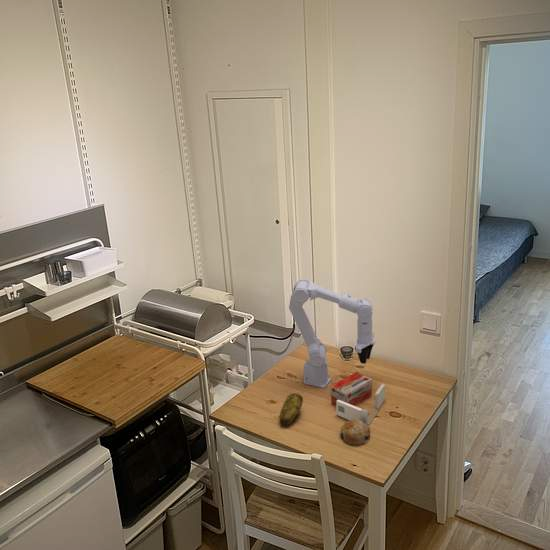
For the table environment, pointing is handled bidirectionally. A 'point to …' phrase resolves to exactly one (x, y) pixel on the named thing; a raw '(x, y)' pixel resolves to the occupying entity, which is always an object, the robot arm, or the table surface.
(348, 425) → the bread roll
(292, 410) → the olive-green oval lump
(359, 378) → the medicine box
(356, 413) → the door
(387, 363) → the table surface
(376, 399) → the white upright panel
